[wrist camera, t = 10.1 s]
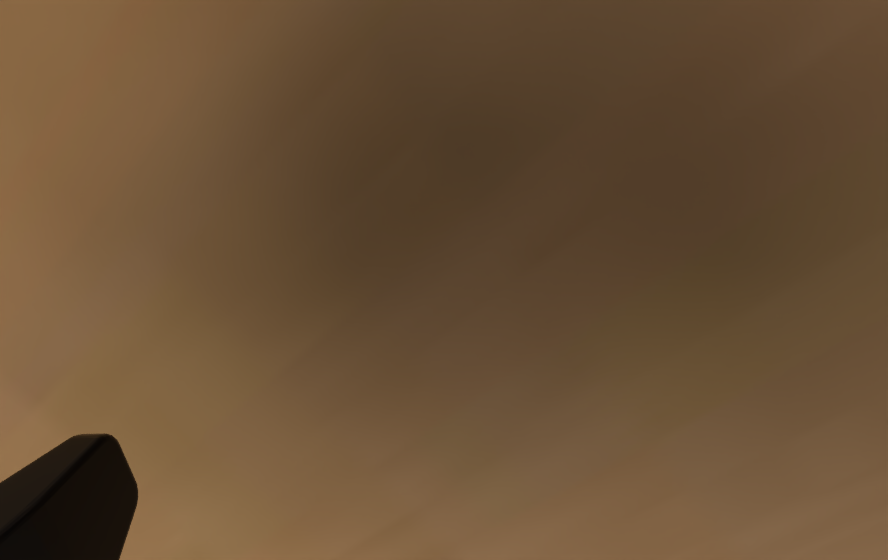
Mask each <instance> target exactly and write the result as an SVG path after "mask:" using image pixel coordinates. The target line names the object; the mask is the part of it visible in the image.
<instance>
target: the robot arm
mask: <svg viewBox="0 0 888 560" xmlns="http://www.w3.org/2000/svg"><path fill="white" fill-rule="evenodd" d="M137 501H138V488H137V483H136V481H135V478H134V476H133V474H132V472H131V469H130V467H129V465H128V463H127V460H126V458H125V456H124V453H123V451H122V449H121V447H120V444H119V442H118V441H117V439H115V438H114V437H113V436H112V435H109V434H81V435H76V436H73V437H71V438H69V439H68V440H66V441H65V442H63V443H62V444H60V445H58V446H57V447H55V448H54V449H52V450H51V451H49V452H48V453H46V454H44V455H43V456H41V457H40V458H38V459H37V460H35V461H34V462H32V463H30V464H29V465H27V466H26V467H24V468H23V469H21V470H20V471H18V472H16V473H15V474H13V475H12V476H10V477H9V478H7V479H6V480H4V481H2V482H1V483H0V560H119V558H120V555H121V552H122V549H123V546H124V543H125V540H126V537H127V534H128V531H129V528H130V525H131V522H132V519H133V516H134V512H135V509H136V506H137Z"/></svg>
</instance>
